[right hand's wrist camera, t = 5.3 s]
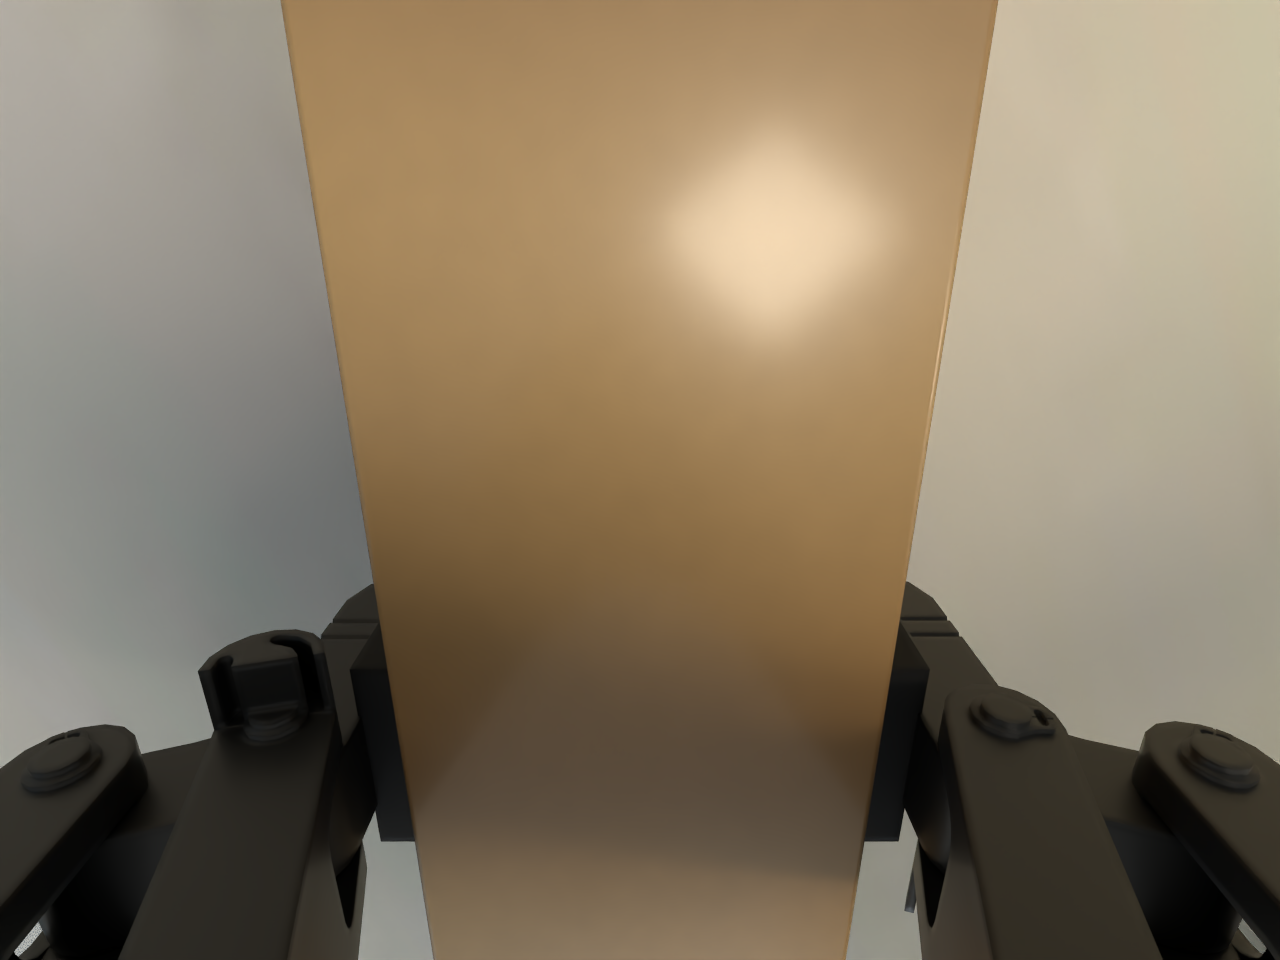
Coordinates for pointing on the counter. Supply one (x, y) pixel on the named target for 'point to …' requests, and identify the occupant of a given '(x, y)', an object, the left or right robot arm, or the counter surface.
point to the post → (639, 436)
